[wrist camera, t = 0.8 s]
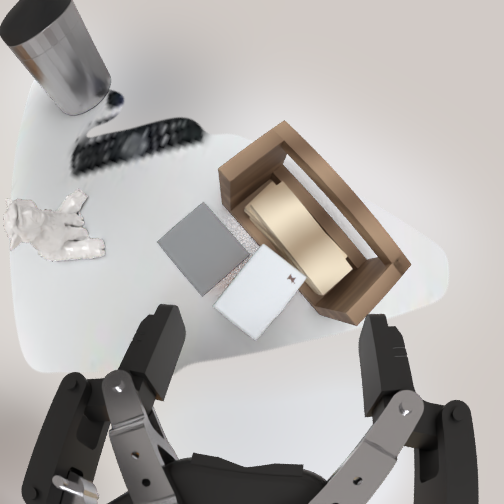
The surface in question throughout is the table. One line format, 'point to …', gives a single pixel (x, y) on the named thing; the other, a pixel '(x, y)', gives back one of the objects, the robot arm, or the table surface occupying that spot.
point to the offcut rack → (272, 170)
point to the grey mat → (203, 248)
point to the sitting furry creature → (52, 229)
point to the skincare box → (259, 292)
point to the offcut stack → (298, 237)
